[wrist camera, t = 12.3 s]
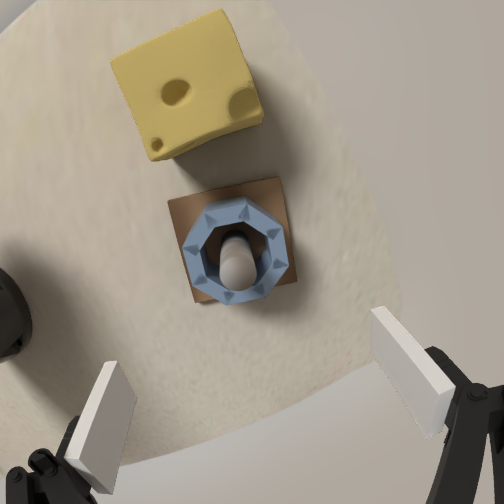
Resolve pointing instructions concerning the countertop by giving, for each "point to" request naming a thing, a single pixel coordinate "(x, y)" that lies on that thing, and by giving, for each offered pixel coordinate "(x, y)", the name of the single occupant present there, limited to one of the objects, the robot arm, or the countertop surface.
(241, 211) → the ring
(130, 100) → the cheese
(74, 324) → the countertop surface
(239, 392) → the countertop surface
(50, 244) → the countertop surface
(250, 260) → the post
